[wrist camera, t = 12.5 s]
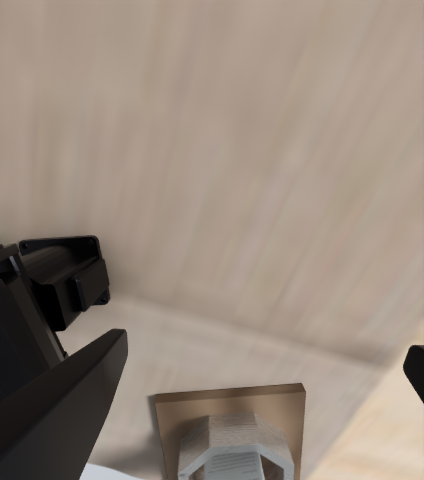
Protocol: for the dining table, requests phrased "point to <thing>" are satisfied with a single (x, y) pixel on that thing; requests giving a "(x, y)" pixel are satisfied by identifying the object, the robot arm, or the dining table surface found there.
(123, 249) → the dining table surface
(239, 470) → the skincare box
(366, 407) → the dining table surface
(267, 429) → the steel ring
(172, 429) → the walnut board
